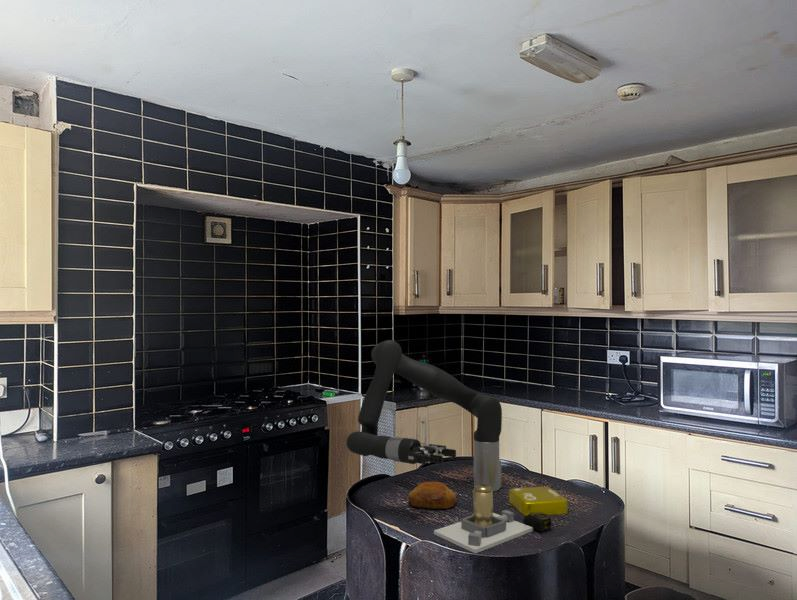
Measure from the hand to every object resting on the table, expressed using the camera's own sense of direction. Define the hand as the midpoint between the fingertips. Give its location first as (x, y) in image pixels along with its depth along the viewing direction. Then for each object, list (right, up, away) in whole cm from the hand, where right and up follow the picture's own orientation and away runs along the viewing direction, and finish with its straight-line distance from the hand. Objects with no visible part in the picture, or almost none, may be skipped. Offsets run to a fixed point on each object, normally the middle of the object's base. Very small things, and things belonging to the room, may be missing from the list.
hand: (449, 456), depth 160 cm
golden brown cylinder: (+9, -19, -7) cm, 22 cm away
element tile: (+30, -21, +14) cm, 39 cm away
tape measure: (+26, -20, -4) cm, 33 cm away
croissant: (-4, -21, +18) cm, 28 cm away
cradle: (+9, -20, -7) cm, 23 cm away
